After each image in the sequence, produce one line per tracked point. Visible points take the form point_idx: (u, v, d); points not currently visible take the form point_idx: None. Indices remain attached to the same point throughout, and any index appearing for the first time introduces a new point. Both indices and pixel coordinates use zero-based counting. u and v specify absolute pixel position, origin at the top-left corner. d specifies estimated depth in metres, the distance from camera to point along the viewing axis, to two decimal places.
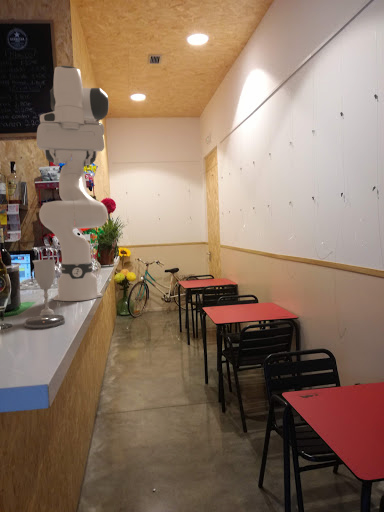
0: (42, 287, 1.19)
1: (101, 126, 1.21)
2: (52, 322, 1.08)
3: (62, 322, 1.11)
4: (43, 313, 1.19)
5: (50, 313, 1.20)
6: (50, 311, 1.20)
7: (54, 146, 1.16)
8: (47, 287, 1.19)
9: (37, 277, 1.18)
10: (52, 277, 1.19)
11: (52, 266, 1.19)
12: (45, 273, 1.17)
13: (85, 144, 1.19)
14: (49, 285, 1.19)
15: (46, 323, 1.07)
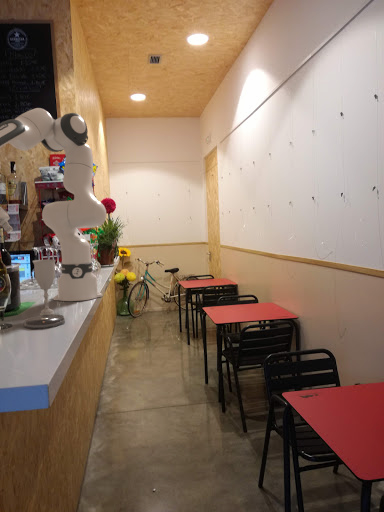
0: (42, 287, 1.19)
1: None
2: (52, 322, 1.08)
3: (62, 322, 1.11)
4: (43, 313, 1.19)
5: (50, 313, 1.20)
6: (50, 311, 1.20)
7: None
8: (47, 287, 1.19)
9: (37, 277, 1.18)
10: (52, 277, 1.19)
11: (52, 266, 1.19)
12: (45, 273, 1.17)
13: None
14: (49, 285, 1.19)
15: (46, 323, 1.07)
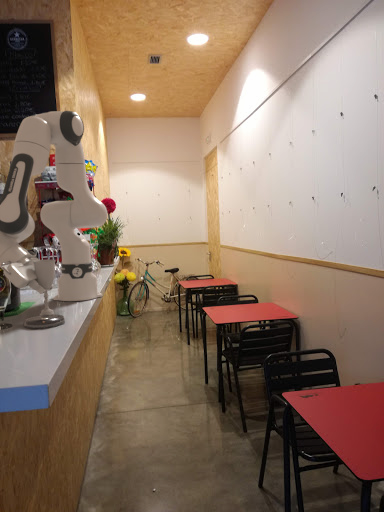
0: None
1: None
2: (52, 322, 1.08)
3: (62, 322, 1.11)
4: (43, 313, 1.19)
5: (50, 313, 1.20)
6: (50, 311, 1.20)
7: None
8: (47, 287, 1.19)
9: (37, 277, 1.18)
10: (52, 277, 1.19)
11: (52, 266, 1.19)
12: (45, 273, 1.17)
13: None
14: (49, 285, 1.19)
15: (46, 323, 1.07)
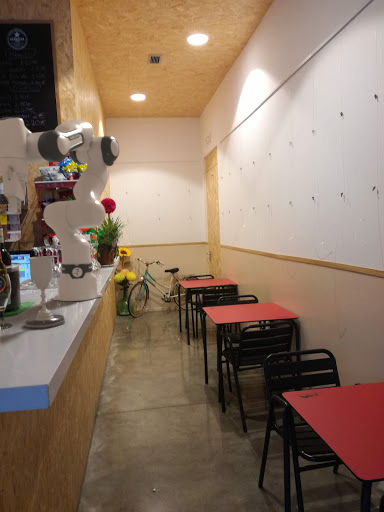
0: (39, 286, 1.09)
1: (7, 170, 1.11)
2: (52, 322, 1.08)
3: (62, 322, 1.11)
4: (40, 315, 1.09)
5: (48, 315, 1.10)
6: (48, 312, 1.10)
7: None
8: (44, 286, 1.09)
9: (33, 275, 1.08)
10: (50, 275, 1.09)
11: (49, 263, 1.09)
12: (42, 271, 1.08)
13: None
14: (46, 284, 1.10)
15: (46, 323, 1.07)
